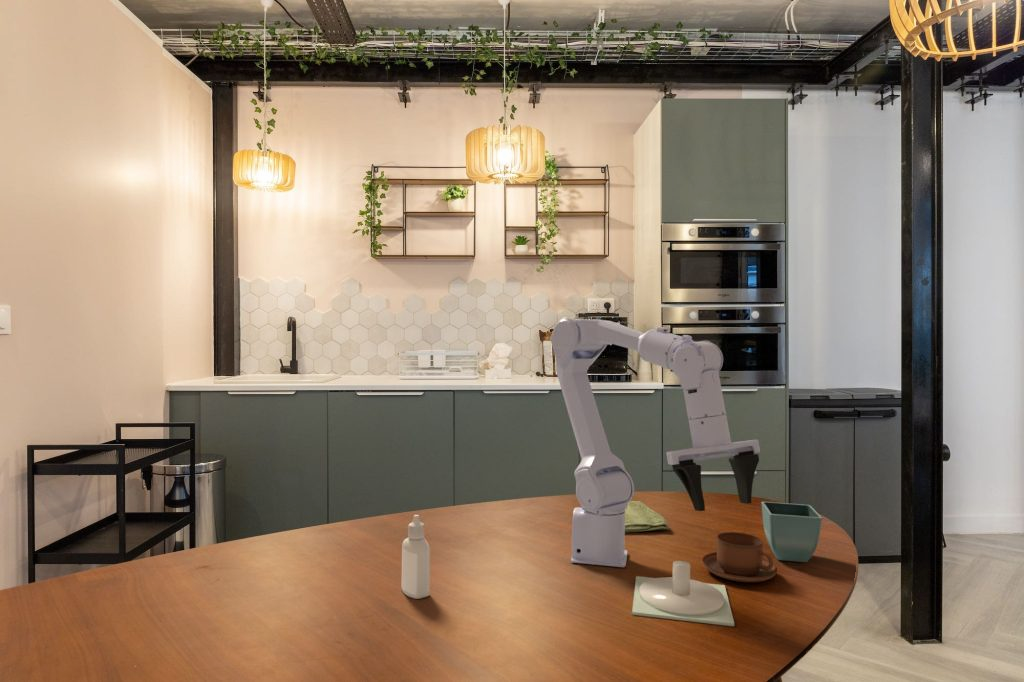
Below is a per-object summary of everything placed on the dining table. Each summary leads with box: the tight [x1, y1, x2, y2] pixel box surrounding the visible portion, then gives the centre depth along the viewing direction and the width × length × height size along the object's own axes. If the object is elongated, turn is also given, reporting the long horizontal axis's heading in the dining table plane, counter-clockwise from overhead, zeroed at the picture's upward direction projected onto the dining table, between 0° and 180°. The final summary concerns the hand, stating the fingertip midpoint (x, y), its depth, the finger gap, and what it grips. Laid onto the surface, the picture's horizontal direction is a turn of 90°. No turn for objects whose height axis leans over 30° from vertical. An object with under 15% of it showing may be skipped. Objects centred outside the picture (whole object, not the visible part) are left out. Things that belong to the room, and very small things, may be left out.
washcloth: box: [625, 500, 670, 534], centre depth 138 cm, size 13×18×3 cm
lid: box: [640, 560, 724, 616], centre depth 97 cm, size 12×12×5 cm
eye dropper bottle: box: [401, 514, 431, 600], centre depth 98 cm, size 4×6×12 cm
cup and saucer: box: [702, 531, 778, 583], centre depth 108 cm, size 12×12×6 cm
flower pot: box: [761, 501, 823, 563], centre depth 116 cm, size 9×9×9 cm
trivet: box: [631, 575, 735, 627], centre depth 97 cm, size 14×14×1 cm
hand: (723, 506), depth 96 cm, fingers open, 7 cm apart
